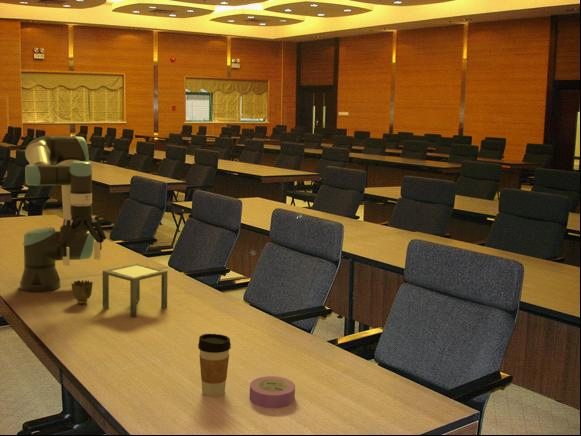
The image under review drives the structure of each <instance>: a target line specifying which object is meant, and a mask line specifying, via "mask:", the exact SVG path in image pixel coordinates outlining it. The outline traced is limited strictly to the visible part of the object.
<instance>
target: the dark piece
mask: <svg viewBox="0 0 581 436" xmlns="http://www.w3.org/2000/svg"><path fill="white" fill-rule="evenodd" d="M93 283H94V281H89V280H79V279H78V280H76V281H73V283H72V282H71V290H72V296H73V298H74V299H75V300H76V302H77V304H78V305H86V304H87V303H88V299H90V298H91V296H92V292H93Z"/></svg>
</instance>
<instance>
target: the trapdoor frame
mask: <svg viewBox="0 0 581 436" xmlns="http://www.w3.org/2000/svg"><path fill="white" fill-rule="evenodd" d="M136 265H137V266H141V267H145V268H149V269H152V270H156V271H158V272H154V273H150V274H146V275H141V276H137V277H131V276H127V275H123V274H119V273H115V272H111V271H113V270H117V269H122V268H127V267H131V266H136ZM158 276H161V279H160V281H161V293H160V294H161V297H160V299H161V302H160V303H161V305H160V306H161V307H160V308H161V309H163V310H164V309H167V308H168V270H167V269H166V270H165V269H161V268H157V267H155V266H154V267H153V266H149V265H145V264H141V263H133V264H128V265H124V266H119V267H118V266H117V267H114V268H110V269H106V270H105V269H104V270H102V309H103V310H108V309H110V305H109V302H110V297H109V292H110V290H109V289H110V285H109V284H110V282H109V281H110V280H109V278H110V277H115V278H118V279H122V280H124V281H125V280H126V281H129V282H130V289H129V292H130V293H129V294H130V295H129V296H130V300H129V302H130V303H129V304H130V305H129V307H130V310H129V318H133V319H134V318H137V316H138V315H137V309H138V308H137V307H138V306H137V301H140V295H141V294H140V291H141V287H140V285H141V283H140V282H141V281H142V280H146V279H150V278H154V277H158Z"/></svg>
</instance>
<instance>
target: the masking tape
mask: <svg viewBox="0 0 581 436" xmlns="http://www.w3.org/2000/svg"><path fill="white" fill-rule="evenodd" d="M295 396H296V385H295V383H294V382H293V381H292V380H290V379H288V378H286V377H282V376H275V375H274V376H273V375H272V376H271V375H270V376H268V375H267V376H261V377H257V378H255V379H253V380H251V382H250V383H249V401H250V402H251V403H252V404H253V405H256V406H258V407H262V408H267V409H280V408H284V407H285V408H286V407H288V406H290V405H292V404H293V403H294V402H295V398H296V397H295Z"/></svg>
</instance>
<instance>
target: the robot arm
mask: <svg viewBox="0 0 581 436" xmlns="http://www.w3.org/2000/svg"><path fill="white" fill-rule="evenodd" d="M24 151H25V152H24V156H25V158H26V160H27V162H28V164H26V165H25V168H24V169H25V170H24V171H25V172H24V174H25V177H24V178H25V185H28V186H35V187H38V186H61V198H62V215H63V217H62V218H63V222H62V223H63V224H62V225H60V227H59V231H58V230H57V231H56V229H55V227H47V226H45V227H39V228H35V229H30V230H28V231H26V232H25V233H24V234H23V235H24V236H23V244H22V246H23V265H24V268H23V272H22V275H21V279H20V281H19V289H20V290H22V291H26V292H32V293H34V292H35V293H37V292H48V291H53V290H56V289H59V288H60V287H61V278H60V275H59V273H58V271H57V268H56V267H57V266H56V262H57V261H62V265H64V266H67V267H69V266H70V264H71V263H70V261H72V260H73V261H74V260H75V261H76V260H79V261H82V260H88V259H90V258H92V255H93V259H94V260H97V261H98V260H101V250H102V243H104V241H105V240H107V237H106V234H105V231H104V230H103V227H102V225H101V223H100V216H99V215H93V205H92V204H93V170H92V163H91V162H90V160H89V159H90V156H89V148H88V144H87V140H86V139H85V138H84V137H83V136H76V135H69V136H68V135H43V136H38V137H37V138H35V139H33V140H31V141H30V142H29V143H28V144H27V145H26V148H25V150H24Z"/></svg>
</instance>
